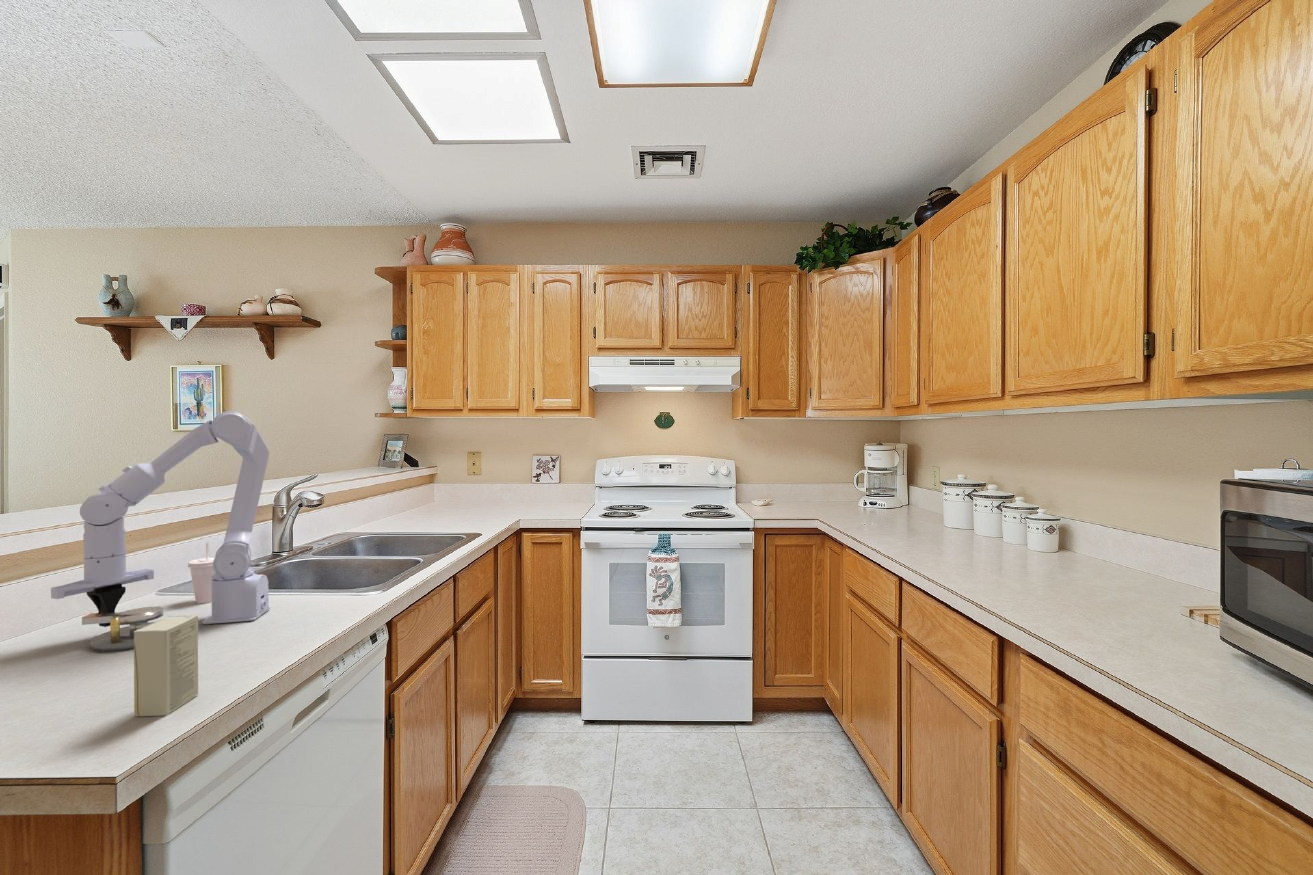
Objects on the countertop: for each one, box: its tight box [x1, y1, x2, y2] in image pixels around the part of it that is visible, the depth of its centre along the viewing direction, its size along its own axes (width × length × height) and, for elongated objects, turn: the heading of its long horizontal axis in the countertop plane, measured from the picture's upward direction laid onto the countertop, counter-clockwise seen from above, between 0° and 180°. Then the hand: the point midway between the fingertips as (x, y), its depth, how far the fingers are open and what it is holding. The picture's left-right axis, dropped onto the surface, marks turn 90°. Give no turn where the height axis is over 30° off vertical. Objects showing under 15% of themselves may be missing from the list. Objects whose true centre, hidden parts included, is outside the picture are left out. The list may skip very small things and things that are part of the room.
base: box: [89, 617, 155, 653], centre depth 104 cm, size 13×13×6 cm
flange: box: [81, 606, 164, 626], centre depth 104 cm, size 12×7×1 cm, turn 107°
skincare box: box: [133, 615, 199, 717], centre depth 78 cm, size 6×4×12 cm
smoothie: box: [187, 541, 215, 605], centre depth 128 cm, size 6×6×14 cm
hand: (106, 625), depth 105 cm, fingers closed, pressing on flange
